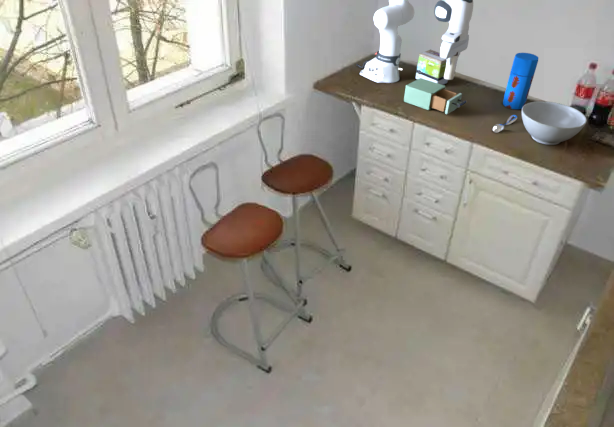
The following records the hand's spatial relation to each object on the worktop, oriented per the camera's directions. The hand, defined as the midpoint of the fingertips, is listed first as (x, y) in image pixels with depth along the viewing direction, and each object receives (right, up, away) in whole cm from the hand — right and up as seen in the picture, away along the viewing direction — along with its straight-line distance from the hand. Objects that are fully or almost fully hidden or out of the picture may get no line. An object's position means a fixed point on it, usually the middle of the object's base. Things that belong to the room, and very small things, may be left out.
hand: (451, 63), depth 245 cm
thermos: (+37, -16, +19) cm, 44 cm away
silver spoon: (+25, -29, +1) cm, 39 cm away
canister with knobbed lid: (0, -6, +4) cm, 7 cm away
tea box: (0, +2, +42) cm, 42 cm away
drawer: (0, -18, +13) cm, 22 cm away
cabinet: (-9, -14, +20) cm, 26 cm away
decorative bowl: (+40, -37, -9) cm, 55 cm away
